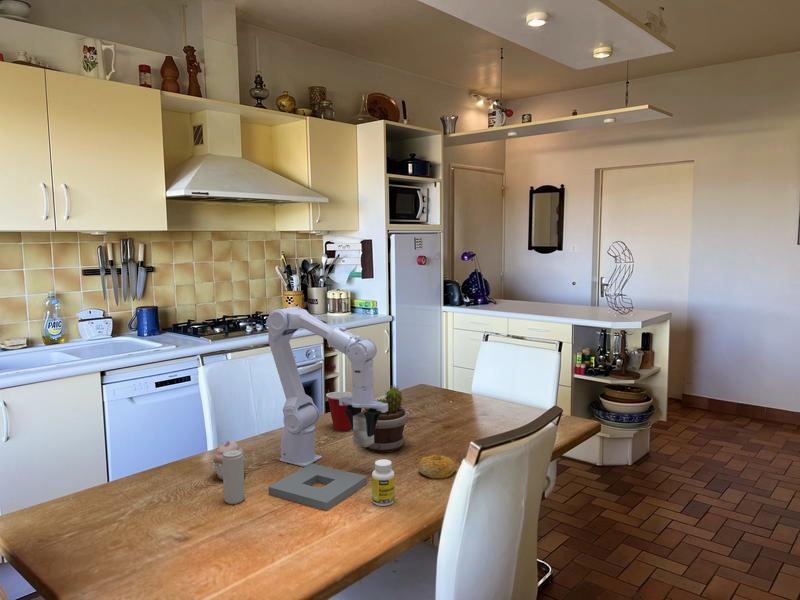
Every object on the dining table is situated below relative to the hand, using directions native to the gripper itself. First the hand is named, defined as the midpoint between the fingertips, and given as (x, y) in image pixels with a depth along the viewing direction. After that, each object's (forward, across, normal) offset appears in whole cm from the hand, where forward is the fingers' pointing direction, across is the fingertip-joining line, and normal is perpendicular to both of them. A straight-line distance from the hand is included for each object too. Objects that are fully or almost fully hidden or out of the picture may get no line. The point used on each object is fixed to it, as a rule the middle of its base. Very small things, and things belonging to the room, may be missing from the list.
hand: (363, 434), depth 155 cm
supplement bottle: (+11, +14, -13) cm, 22 cm away
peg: (+3, 0, 0) cm, 3 cm away
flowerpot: (+11, -5, +18) cm, 22 cm away
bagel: (+11, +18, +9) cm, 23 cm away
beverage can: (+11, -18, -30) cm, 36 cm away
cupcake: (+11, -30, -20) cm, 38 cm away
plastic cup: (+11, -26, +26) cm, 38 cm away
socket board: (+10, -4, -15) cm, 19 cm away
